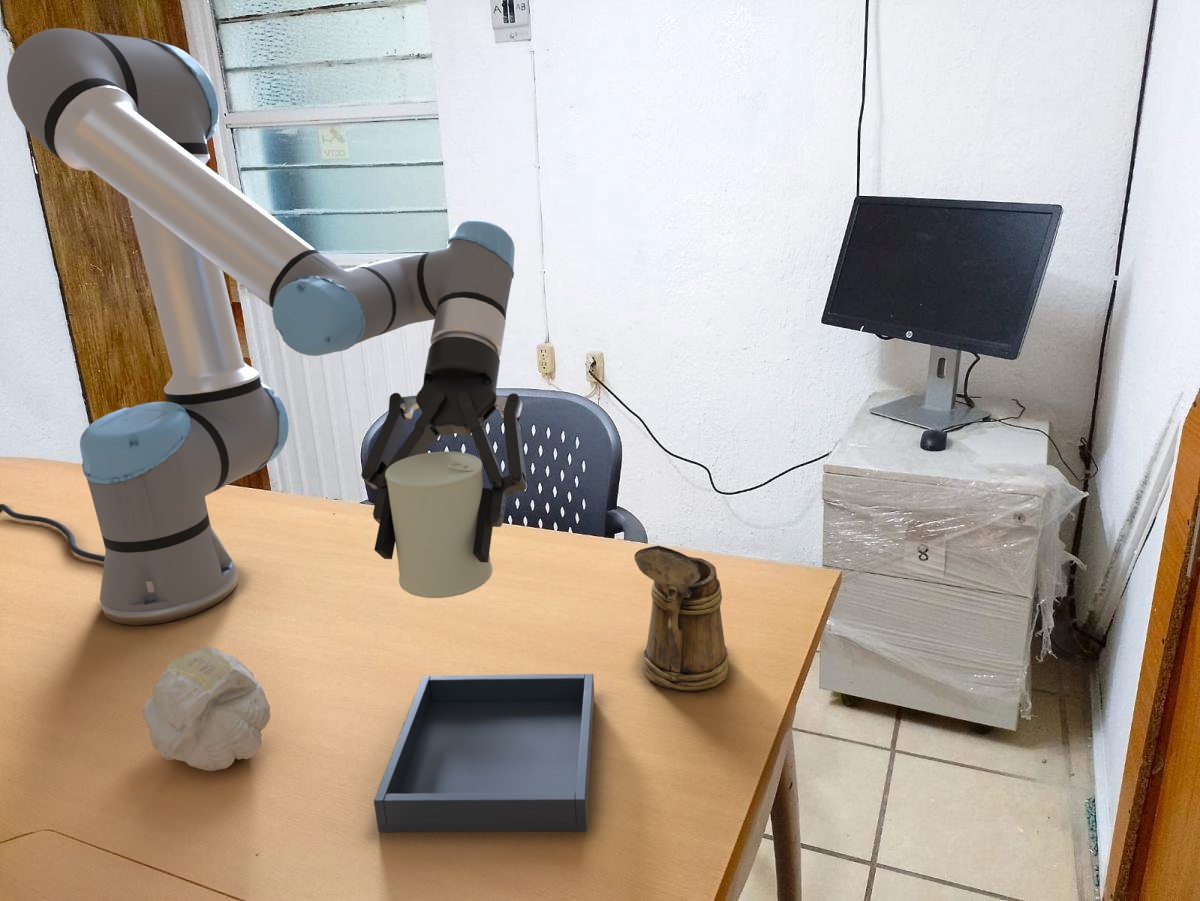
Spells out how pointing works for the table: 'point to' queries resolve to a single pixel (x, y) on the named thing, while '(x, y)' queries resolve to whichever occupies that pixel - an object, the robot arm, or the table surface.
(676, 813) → the table surface
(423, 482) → the can
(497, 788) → the tray
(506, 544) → the table surface
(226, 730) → the fossil replica
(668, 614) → the wooden mug
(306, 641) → the table surface
